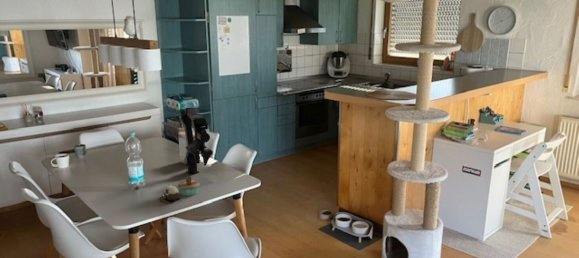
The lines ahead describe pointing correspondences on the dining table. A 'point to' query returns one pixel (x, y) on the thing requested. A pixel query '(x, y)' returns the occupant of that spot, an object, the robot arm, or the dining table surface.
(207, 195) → the dining table surface
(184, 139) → the cracker box
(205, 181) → the mat
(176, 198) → the skull
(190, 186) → the lid
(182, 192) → the bowl
